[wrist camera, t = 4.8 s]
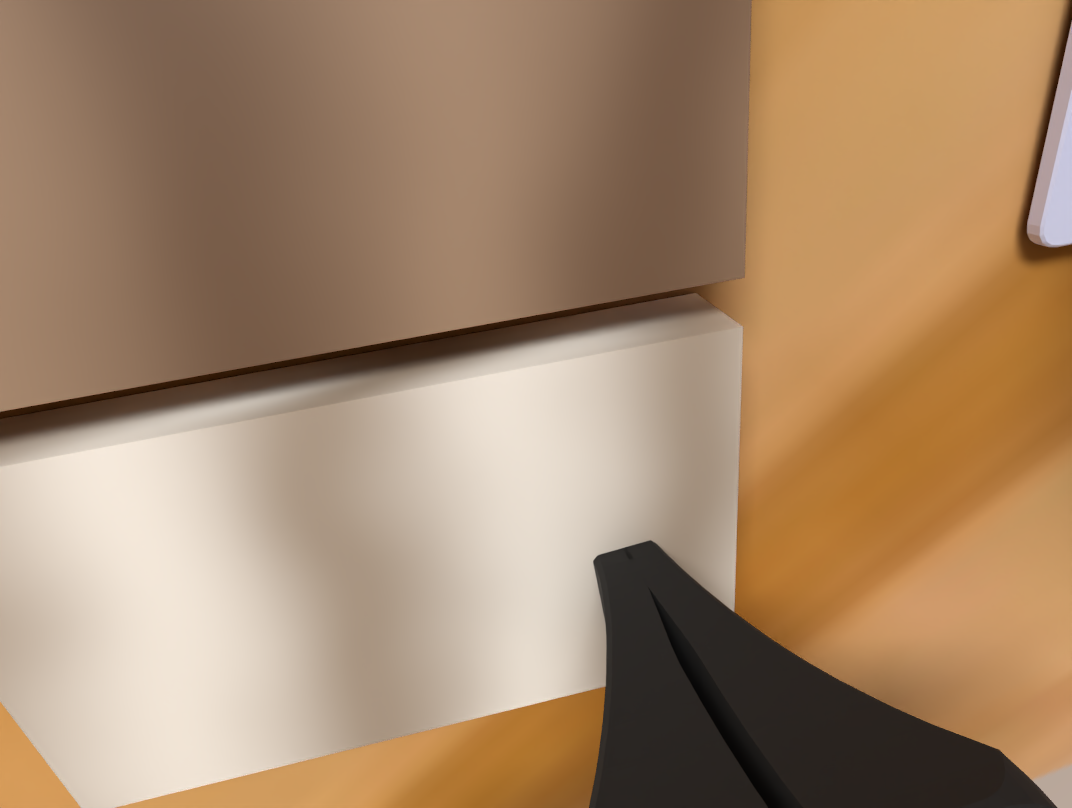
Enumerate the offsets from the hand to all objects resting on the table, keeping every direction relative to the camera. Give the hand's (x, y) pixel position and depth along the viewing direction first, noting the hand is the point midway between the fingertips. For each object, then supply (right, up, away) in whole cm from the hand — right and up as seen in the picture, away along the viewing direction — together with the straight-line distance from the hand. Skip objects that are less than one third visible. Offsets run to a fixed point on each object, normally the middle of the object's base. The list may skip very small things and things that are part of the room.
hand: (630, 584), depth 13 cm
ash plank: (-5, +1, +1) cm, 5 cm away
